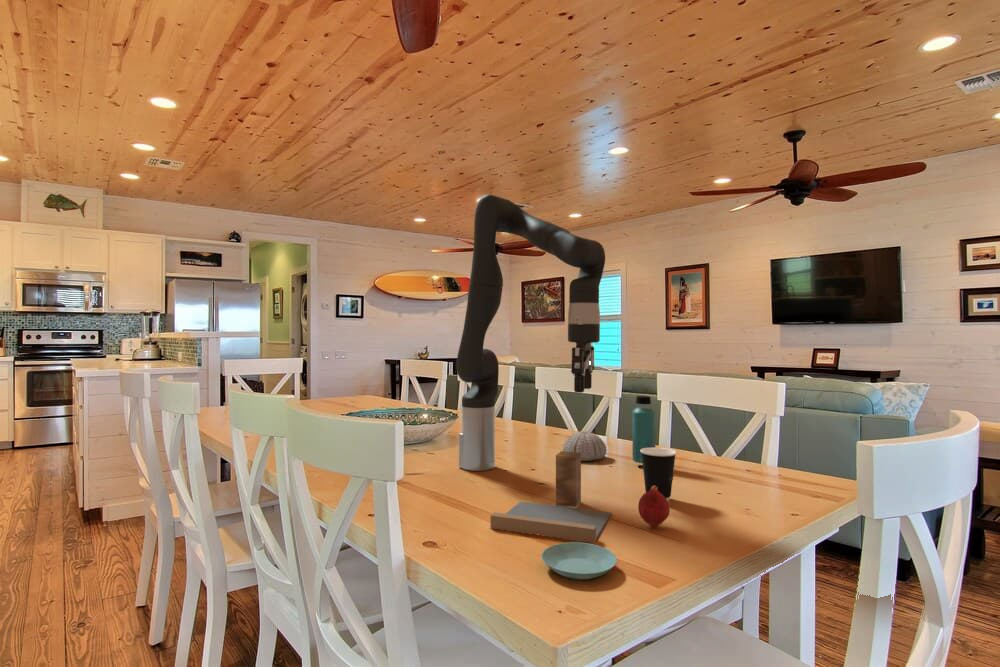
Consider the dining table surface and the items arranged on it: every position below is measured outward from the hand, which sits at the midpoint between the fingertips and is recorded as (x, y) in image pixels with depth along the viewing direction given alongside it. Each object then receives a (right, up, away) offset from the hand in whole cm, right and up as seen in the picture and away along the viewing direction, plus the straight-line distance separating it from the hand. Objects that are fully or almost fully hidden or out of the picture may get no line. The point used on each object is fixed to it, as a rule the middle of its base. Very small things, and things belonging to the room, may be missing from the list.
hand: (583, 390), depth 130 cm
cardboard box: (-5, -24, -10) cm, 26 cm away
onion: (+10, -24, -25) cm, 36 cm away
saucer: (-7, -24, -44) cm, 50 cm away
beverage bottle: (+21, -24, +25) cm, 41 cm away
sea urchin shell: (+6, -25, +35) cm, 43 cm away
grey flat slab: (-9, -24, -20) cm, 33 cm away
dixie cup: (+16, -24, -7) cm, 30 cm away
